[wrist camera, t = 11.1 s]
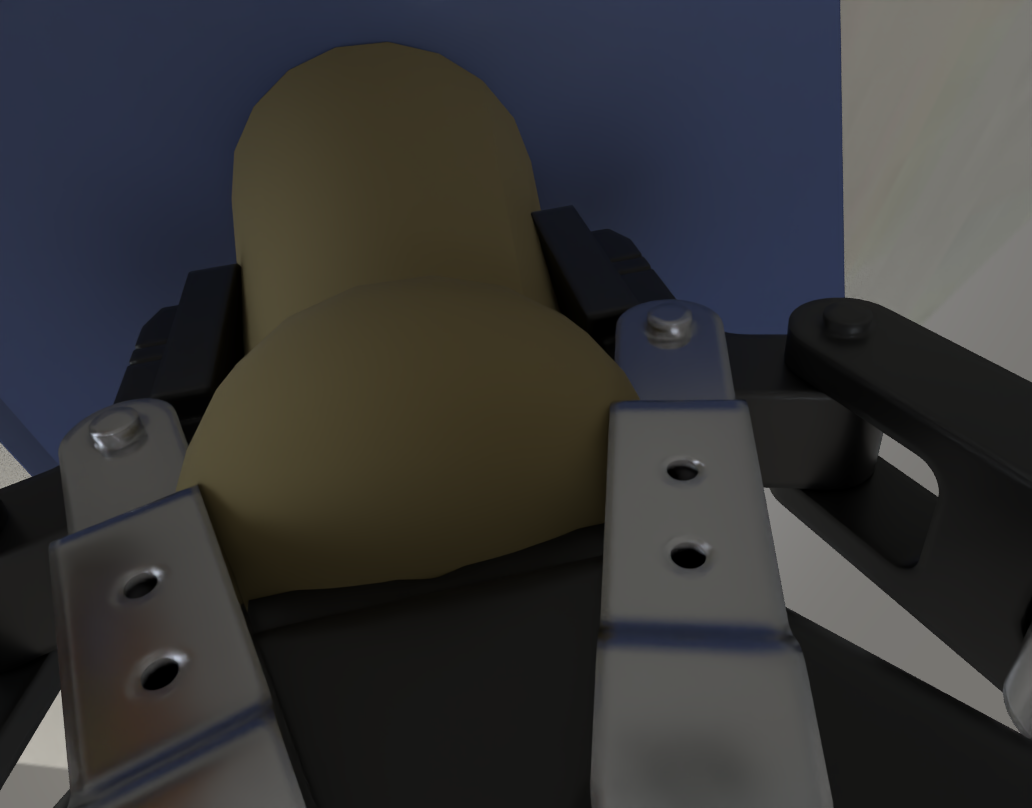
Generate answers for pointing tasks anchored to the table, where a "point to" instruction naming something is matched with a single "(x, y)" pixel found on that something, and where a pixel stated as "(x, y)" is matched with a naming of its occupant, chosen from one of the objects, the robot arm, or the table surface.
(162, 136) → the book
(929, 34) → the table surface
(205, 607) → the robot arm
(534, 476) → the cork
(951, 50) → the table surface
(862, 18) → the table surface
